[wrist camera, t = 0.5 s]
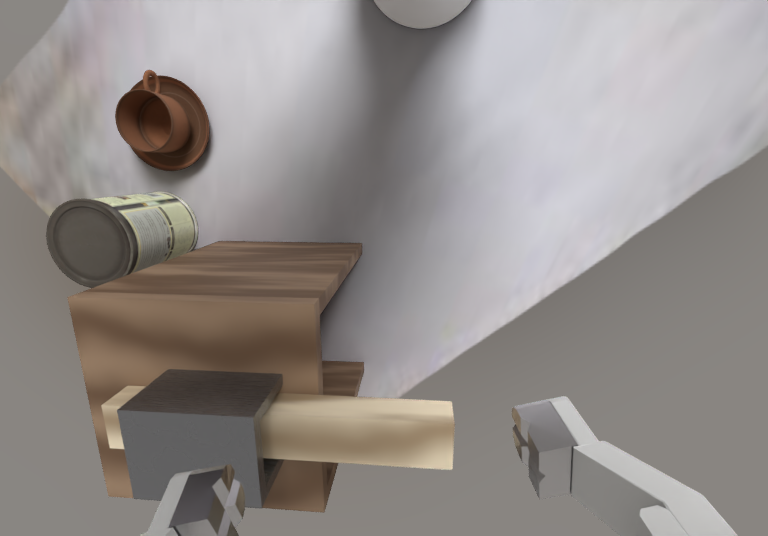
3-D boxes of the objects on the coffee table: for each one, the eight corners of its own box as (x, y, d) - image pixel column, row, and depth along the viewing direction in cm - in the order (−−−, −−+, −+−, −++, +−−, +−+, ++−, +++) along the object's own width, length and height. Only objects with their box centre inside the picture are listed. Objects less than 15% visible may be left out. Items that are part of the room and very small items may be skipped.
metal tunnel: (168, 368, 34) (116, 410, 28) (282, 373, 33) (253, 417, 28) (179, 445, 36) (133, 498, 30) (288, 452, 35) (261, 508, 29)
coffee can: (153, 270, 61) (76, 300, 47) (119, 206, 59) (28, 218, 45) (211, 247, 59) (148, 271, 45) (178, 180, 57) (102, 184, 43)
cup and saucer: (117, 95, 55) (80, 87, 49) (194, 65, 53) (165, 53, 47) (153, 181, 57) (122, 183, 51) (228, 155, 56) (205, 154, 50)
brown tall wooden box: (219, 241, 59) (67, 297, 33) (361, 243, 57) (314, 304, 32) (232, 365, 63) (108, 496, 38) (364, 371, 62) (324, 512, 36)
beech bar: (127, 385, 35) (101, 405, 32) (451, 401, 33) (454, 424, 30) (134, 425, 36) (109, 448, 33) (449, 443, 34) (452, 470, 31)
